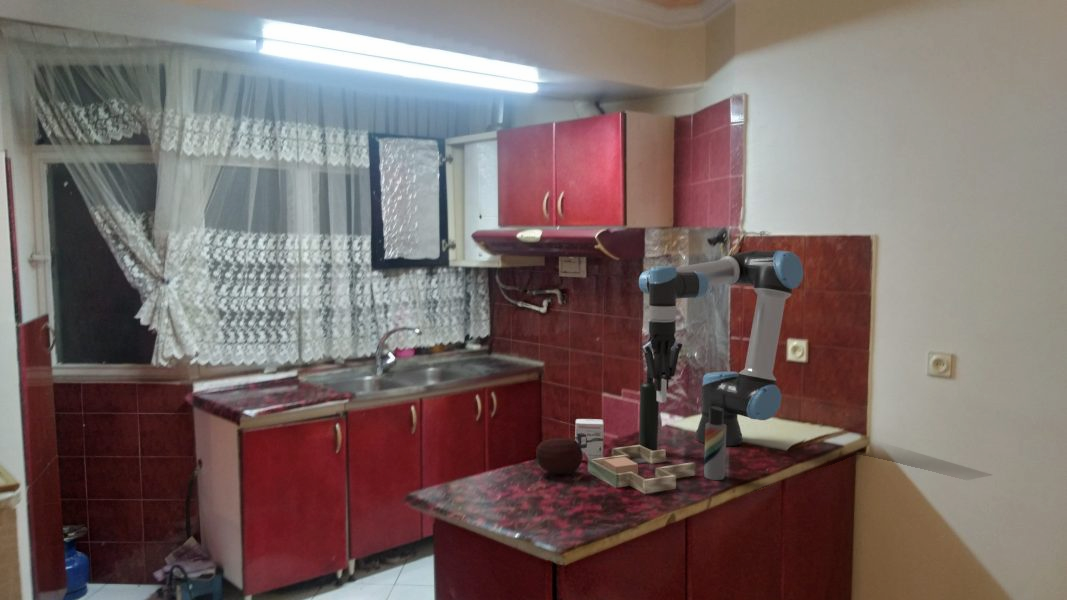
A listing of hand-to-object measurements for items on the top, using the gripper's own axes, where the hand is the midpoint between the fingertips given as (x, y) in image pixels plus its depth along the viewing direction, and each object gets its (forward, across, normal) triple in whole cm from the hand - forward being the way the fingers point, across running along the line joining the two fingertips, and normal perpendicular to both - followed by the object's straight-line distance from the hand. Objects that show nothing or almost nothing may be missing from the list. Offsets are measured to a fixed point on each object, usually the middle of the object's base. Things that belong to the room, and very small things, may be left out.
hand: (661, 401), depth 207 cm
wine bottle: (+21, -7, -16) cm, 27 cm away
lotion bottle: (+21, -10, +12) cm, 26 cm away
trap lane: (+20, +7, +1) cm, 21 cm away
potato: (+20, +29, -8) cm, 36 cm away
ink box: (+20, +14, -17) cm, 30 cm away
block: (+20, +14, +1) cm, 25 cm away
